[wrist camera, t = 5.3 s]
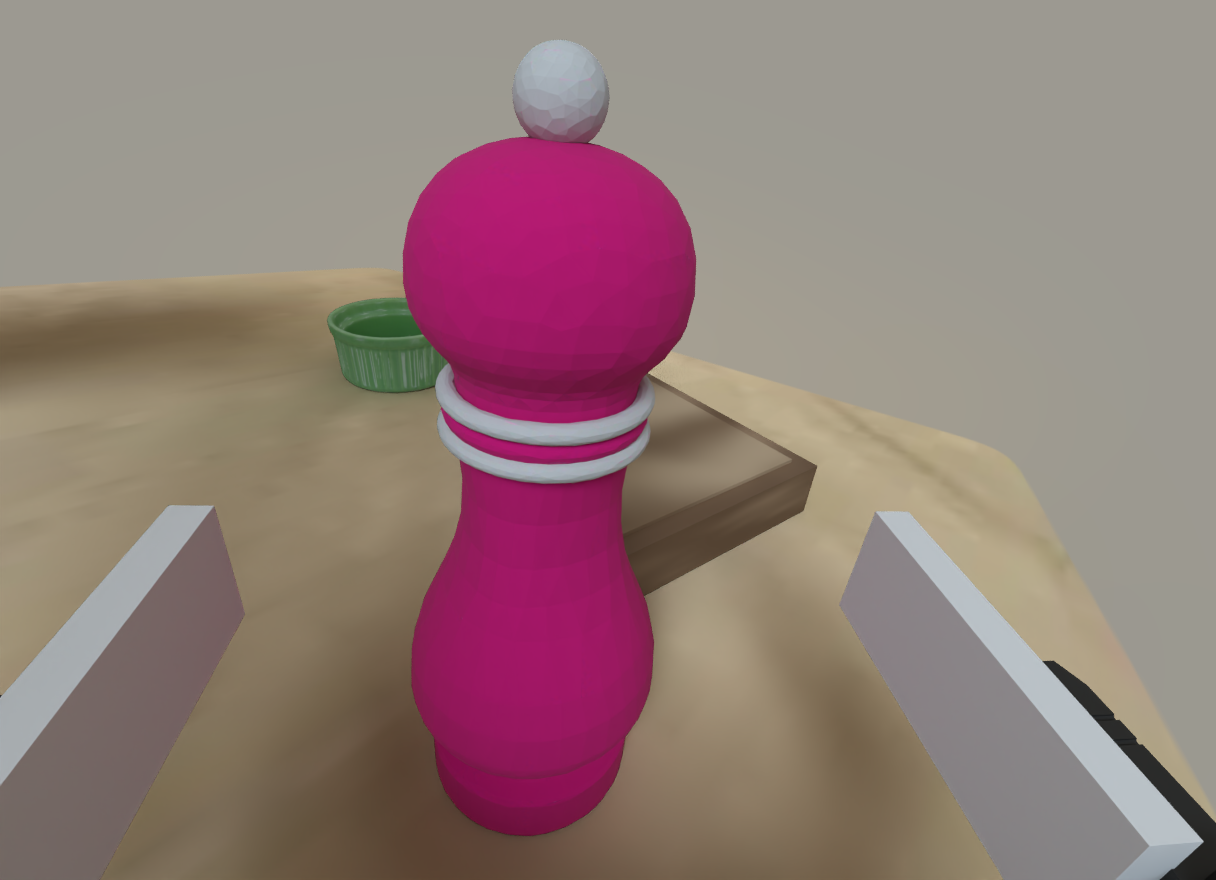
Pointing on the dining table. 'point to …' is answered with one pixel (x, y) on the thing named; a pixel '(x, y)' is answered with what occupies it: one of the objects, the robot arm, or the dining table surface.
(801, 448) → the dining table surface
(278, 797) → the dining table surface
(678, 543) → the plinth
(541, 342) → the pepper mill
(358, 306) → the ramekin
